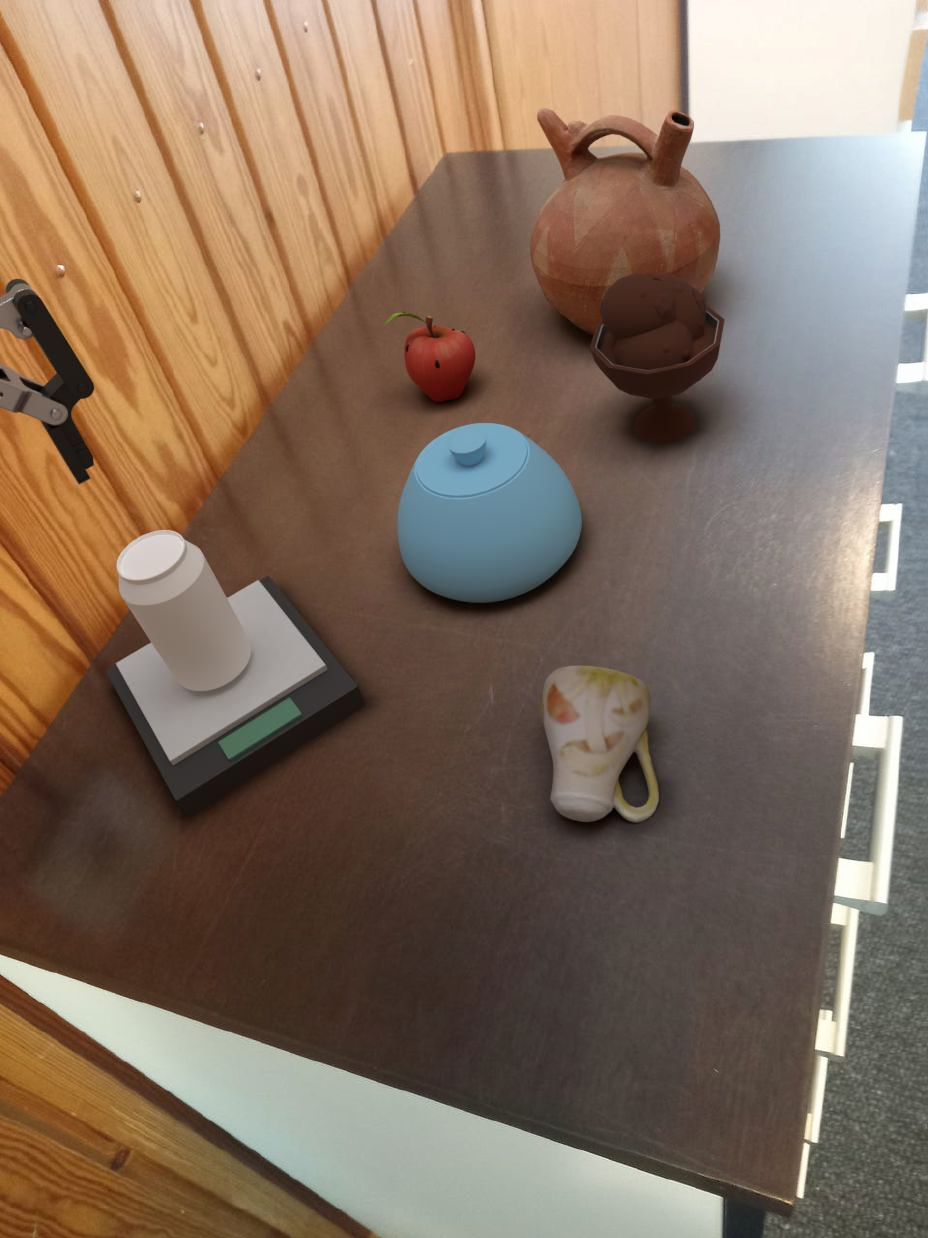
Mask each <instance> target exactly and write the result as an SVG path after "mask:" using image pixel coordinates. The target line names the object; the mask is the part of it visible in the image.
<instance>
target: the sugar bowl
mask: <svg viewBox="0 0 928 1238" xmlns="http://www.w3.org/2000/svg"><path fill="white" fill-rule="evenodd" d="M396 518H397V520H396V521H397V523H396V524H397V527H396V528H397V541H398V542H397V543H398V549H399V552H400V556H401V559H402V562H403V564H404V566H405V568H406V569H407V572H408V573H409V574H410V576H412V577H413V578H414V579H415V580H416V582H418V583H419V584H420V585H421V586H422V587H424V588H425V589H427V590H428V591H430V592H432V593H434V594H436V595H438V596H442V597H443V598H447V599H450V600H454V601H459V602H463V603H472V604H473V603H475V604H485V603H497V602H501V601H507V600H510V599H513V598H517V597H518V596H522V595H525V594H526V593H528V592H531V591H533V590H534V589H536V588H537V587H539V586H541V585H542V584H544V583H545V582H546V581H548V580H549V579H550V578H551V577H553V576H554V575H555V574H556V573H557V572H558V571H559V570H560V569H561V568H562V567H563V566H564V565H565V564H566V562H567V561H568V560H569V559H570V557H571V556H572V554H573V552H574V551H575V549H576V547H577V545H578V543H579V540H580V536H581V534H582V533H581V532H582V526H583V516H582V511H581V506H580V502H579V499H578V497H577V494H576V492H575V490H574V487H573V485H572V483H571V482H570V480H569V478H568V476H567V475H566V473H565V472H564V470H563V469H562V468H561V466H560V465H559V463H557V462H556V460H555V459H554V458H553V457H552V456H551V455H550V454H549V453H548V452H546V451H545V450H544V449H543V448H542V447H540V445H538V444H537V443H535V442H534V441H533V440H531V439H530V438H529V437H528V436H526V435H525V434H524V433H521V432H520V431H519V430H516V429H514V428H513V427H511V426H508V425H504V424H501V423H493V422H477V423H470V424H466V425H461V426H459V427H455V428H453V429H451V430H448V431H446V432H444V433H442V434H440V435H439V436H437V437H436V438H435V439H432V441H430V443H428V444H427V445H426V446H425V447H424V448H423V449H422V451H421V452H419V455H418V457H417V458H416V460H415V461H414V464H413V465H412V467H411V469H410V472H409V473H408V477H407V479H406V482H405V485H404V486H403V490H402V493H401V497H400V500H399V504H398V511H397V517H396Z"/></svg>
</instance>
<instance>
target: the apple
mask: <svg viewBox="0 0 928 1238" xmlns="http://www.w3.org/2000/svg"><path fill="white" fill-rule="evenodd" d="M401 317H411V318H412V319H415V320H419V321H421V322H423V323H425V325H426V326H423V327H419V328H416V329H413V330H412V331H410V332H409V334H408V335H407V337H406V338H405V342H404V364H405V368H406V372H407V374H408V376H409V378H410V379H411V380H412V382H413V383H414V384H415V385H416V386H417V387H418V388H419V389H420V390H421V391H422V392H424V394H425V395H427V397H428V398H430V399H431V400H432V401H434V402H437V403H440V402H441V403H443V402H445V401H450V400H456V399H458V398H459V397H461V395H462V393H463V392H464V389H465V387H466V386H467V383H468V381H469V380H470V377H471V375H472V373H473V370H474V369H475V368H474V367H475V363H476V348H475V345H474V343H473V341H472V339H471V337H469V335H467V333H466V332H465V331H463V330H458V329H455V328H450V327H442V326H436V325H433V321H434V317H433V316H430V315H426V316H425V320H423V319H422V318H421V317H419V315H416V314H414V313H411V312H406V311H402V312H395V313H393V314H392V315H390V317H388V318H387V320H386V321H385V322H384V323H382V324H381V326H384V325H387V324H388V323H390V322H391V321H393V320H394V319H396V318H401Z"/></svg>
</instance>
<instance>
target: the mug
mask: <svg viewBox="0 0 928 1238" xmlns="http://www.w3.org/2000/svg"><path fill="white" fill-rule="evenodd" d="M540 709H541V717H542V723H543V726H544V732H545V735H546V739H547V743H548V747H549V750H550V755H551V760H552V767H553V769H552V770H553V771H552V774H553V775H552V786H551V791H550V797H549V799H550V802H551V803H552V805H553V806H554V808H555V810H556V811H557V812H558V814H560V815H561V816H563V817H565V818H567V819H569V820H571V821H572V820H573V821H577V822H581V823H582V822H583V823H584V822H585V823H590V822H595V821H598V820H601V819H603V818H604V817H606V816H607V815H608V814H610V813H611V812H612V811H613V809H615V810H616V812H617V813H618V814H619V815H620V816H621V817H622V818H623V819H625V820H626V821H628V822H631V823H635V824H637V823H642V822H644V821H646V820H648V819H649V818H650V817H651V816H652V815H653V814H654V813H655V812H656V810H657V808H658V804H659V802H660V790H659V782H658V779H657V776H656V773H655V769H654V766H653V762H652V758H651V754H650V749H649V733H648V731H647V726H648V724H649V720H650V715H651V692H650V690H649V687H648V685H647V684H646V683H645V682H644V681H642V680H641V679H639V678H637V677H635V676H633V675H631V674H629V673H626V672H623V671H621V670H618V669H617V670H616V669H612V668H607V667H602V666H595V665H567V666H562V667H559V668H555V670H553V671H552V672H551V673H550V674H549V675H548V676H547V677H546V679H545V682H544V684H543V689H542V693H541V699H540ZM633 753H635V755H636V757H637V758H638V762H639V764H640V767H641V769H642V772H643V775H644V778H645V782H646V785H647V790H648V797H647V801H646V803H645V804H644V805H642V806H637V807H635V806H633V805H630V804H629V803H628V802H627V801H626V800H625V798H624V796H623V791H622V787H621V784H620V781H619V778H620V775H621V773H622V771H623V770H624V768H625V766H626V764H627V763H628V761H629V760H630V757H631V756H632V755H633Z"/></svg>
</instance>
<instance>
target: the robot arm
mask: <svg viewBox="0 0 928 1238" xmlns="http://www.w3.org/2000/svg"><path fill="white" fill-rule="evenodd" d="M0 329H3V330H7V331H9V332H10V333H11V334H12V335H13V336H14V337H15V338H16V339H19V340H28V339H31V338H34V340H35V342H36V343H37V345H38V347H39V348H40V349H41V352H43V354H44V356H45V358H46V359H47V360H48V362H49V363H50V365H51V367H52V368H53V370H54V371H55V374H54V375H53V376H52V377H50V379H49V380H48V381H47V382H46V383H45V384H44V383H42V382H39V381H37V380H34V379H32V378H29V377H27V376H25V375H22V374H20V373H19V372H17V371H15V370H14V369H13V368H11V367H9V366H7V365H6V364H3V363H0V408H1V409H3V410H6V411H9V412H11V413H15V414H18V413H21V414H23V415H26V416H28V417H31V418H34V419H36V420H38V421H40V423H41V424H42V426H43V428H44V430H45V431H46V433H47V435H48V436H49V438H50V439H51V441H52V443H53V445H54V446H55V448H56V450H57V451H58V453H59V455H60V456H61V458H62V460H63V462H64V463H65V465H66V467H67V468H68V470H69V472H70V473H71V474H72V476H73V478H74V480H75V481H76V483H77V484H78V485H81V484H83V483H85V482H87V481H89V480H91V476H90V475H89V473H88V469H89V468H90V469H91V467H94V466H95V463H94V462H95V461H94V455H93V453H92V452H91V450H90V448H89V447H88V445H87V443H86V441H85V439H84V438H83V436H82V434H81V433H80V431H79V429H78V427H77V426H76V423H75V422H74V419H73V418H72V411H73V409H74V407H75V406H76V404H77V403H78V402H79V401H80V400H85V399H88V398H90V397H91V396H92V394H94V390H95V384H94V382H93V380H92V378H91V377H90V375H89V374H88V372H87V370H86V368H85V367H84V366H83V363H82V362H81V361H80V359H79V357H78V356H77V354H76V353H75V350H74V349H73V348H72V346H71V345H70V343H69V342H68V340H67V338H66V336H65V334H64V333H63V332H62V330H61V328H60V327H59V325H58V324H57V321H56V320H55V318H54V317H53V315H52V314H51V312H50V310H49V309H48V308H47V306H46V305H45V303H44V301H43V300H42V298H41V297H40V296H39V294H37V292H36V291H35V290H34V288H33V287H32V286H31V285H30V284H29V283H28V282H27V280H25V279H22V278H14V279H11V280H9V282H7V284H6V286H5V294H2V295H1V296H0Z"/></svg>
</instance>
